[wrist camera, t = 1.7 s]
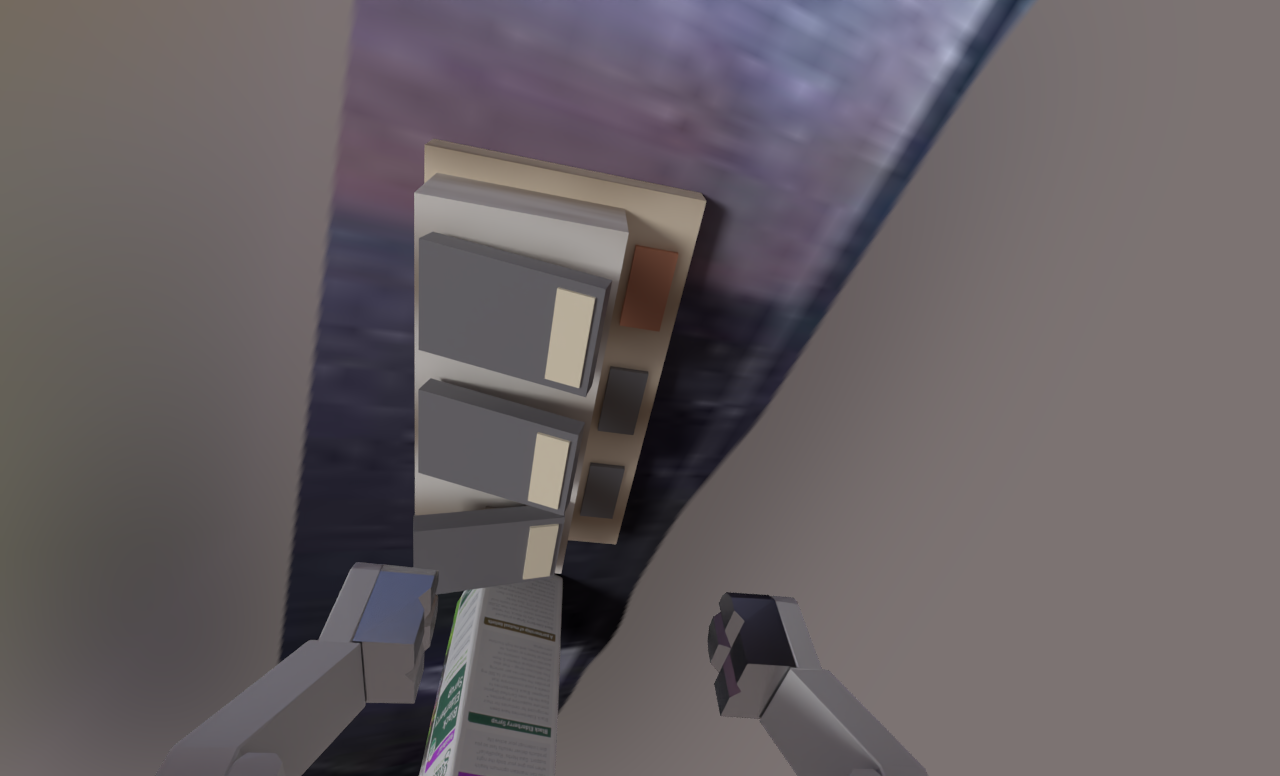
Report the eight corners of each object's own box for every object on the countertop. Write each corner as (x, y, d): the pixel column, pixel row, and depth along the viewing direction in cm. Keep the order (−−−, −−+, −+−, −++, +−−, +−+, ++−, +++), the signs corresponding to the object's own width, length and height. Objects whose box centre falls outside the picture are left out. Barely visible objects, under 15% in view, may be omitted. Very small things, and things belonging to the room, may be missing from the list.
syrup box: (488, 550, 38) (437, 798, 26) (567, 575, 40) (555, 817, 28) (457, 599, 40) (397, 847, 28) (532, 621, 42) (507, 862, 30)
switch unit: (433, 138, 24) (392, 166, 19) (701, 192, 26) (726, 230, 21) (428, 508, 35) (401, 585, 31) (615, 526, 37) (618, 602, 33)
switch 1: (432, 231, 21) (416, 239, 20) (612, 280, 21) (605, 290, 20) (431, 339, 23) (416, 351, 22) (592, 385, 23) (584, 398, 22)
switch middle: (430, 378, 24) (416, 390, 23) (585, 422, 24) (577, 437, 23) (429, 459, 27) (416, 474, 26) (570, 501, 26) (562, 517, 25)
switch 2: (413, 515, 26) (413, 534, 25) (561, 503, 29) (565, 519, 28) (413, 580, 28) (413, 599, 28) (550, 563, 31) (554, 580, 30)
